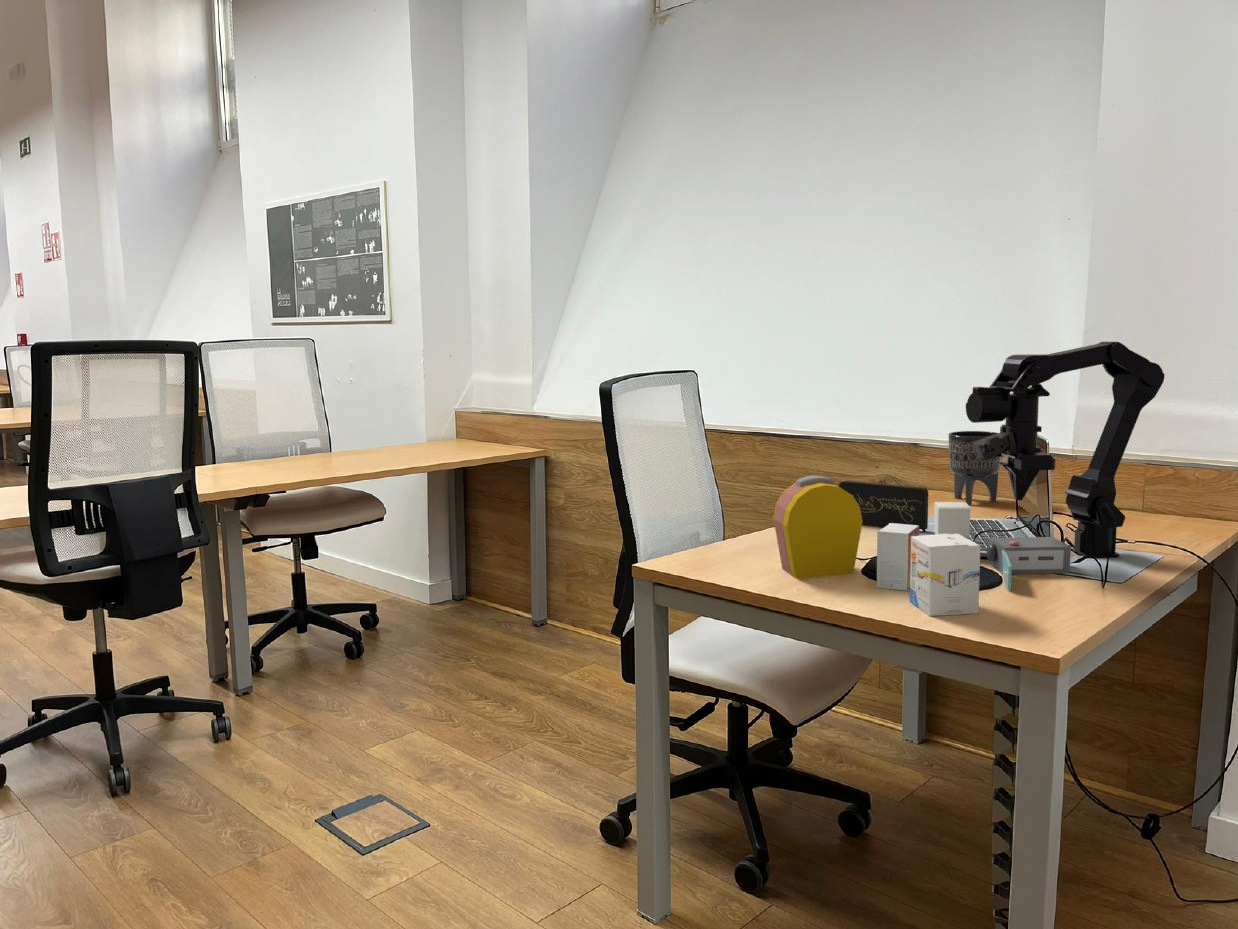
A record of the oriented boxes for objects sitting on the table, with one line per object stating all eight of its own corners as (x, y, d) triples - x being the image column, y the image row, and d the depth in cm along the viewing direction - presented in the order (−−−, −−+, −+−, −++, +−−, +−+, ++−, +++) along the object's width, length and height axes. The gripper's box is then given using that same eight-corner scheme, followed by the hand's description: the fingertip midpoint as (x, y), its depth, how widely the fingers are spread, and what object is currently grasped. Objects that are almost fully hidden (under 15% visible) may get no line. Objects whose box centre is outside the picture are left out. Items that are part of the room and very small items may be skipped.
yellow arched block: (844, 563, 183) (845, 471, 180) (861, 573, 175) (863, 478, 172) (772, 568, 181) (772, 475, 178) (787, 579, 173) (786, 482, 170)
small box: (907, 592, 162) (908, 533, 161) (875, 588, 165) (876, 530, 164) (919, 581, 169) (920, 524, 168) (888, 577, 172) (889, 522, 171)
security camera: (969, 556, 185) (970, 507, 184) (933, 555, 187) (934, 507, 185) (964, 548, 192) (965, 501, 190) (929, 548, 193) (930, 501, 191)
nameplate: (927, 531, 208) (928, 488, 207) (924, 533, 207) (925, 489, 206) (842, 521, 222) (842, 480, 220) (838, 522, 220) (838, 481, 219)
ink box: (908, 601, 157) (909, 534, 155) (956, 599, 158) (957, 532, 156) (929, 617, 149) (930, 546, 147) (979, 614, 149) (981, 543, 148)
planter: (994, 507, 231) (996, 437, 229) (941, 503, 238) (942, 435, 236) (1004, 499, 242) (1006, 432, 240) (953, 495, 249) (955, 430, 247)
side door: (998, 573, 172) (999, 550, 171) (1005, 573, 172) (1006, 550, 171) (1003, 590, 161) (1004, 565, 160) (1011, 590, 161) (1012, 566, 160)
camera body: (1051, 562, 179) (1053, 533, 179) (1069, 573, 171) (1071, 543, 170) (983, 563, 180) (984, 535, 179) (998, 574, 172) (999, 544, 171)
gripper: (963, 416, 187) (961, 492, 190) (996, 426, 169) (993, 510, 171) (1019, 415, 187) (1016, 491, 189) (1058, 425, 168) (1054, 509, 170)
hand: (1018, 500), depth 180 cm, fingers closed
